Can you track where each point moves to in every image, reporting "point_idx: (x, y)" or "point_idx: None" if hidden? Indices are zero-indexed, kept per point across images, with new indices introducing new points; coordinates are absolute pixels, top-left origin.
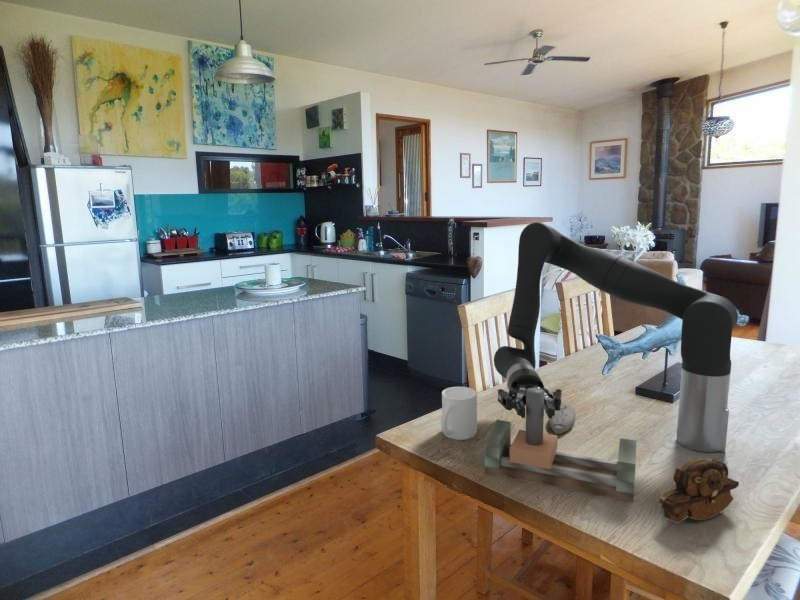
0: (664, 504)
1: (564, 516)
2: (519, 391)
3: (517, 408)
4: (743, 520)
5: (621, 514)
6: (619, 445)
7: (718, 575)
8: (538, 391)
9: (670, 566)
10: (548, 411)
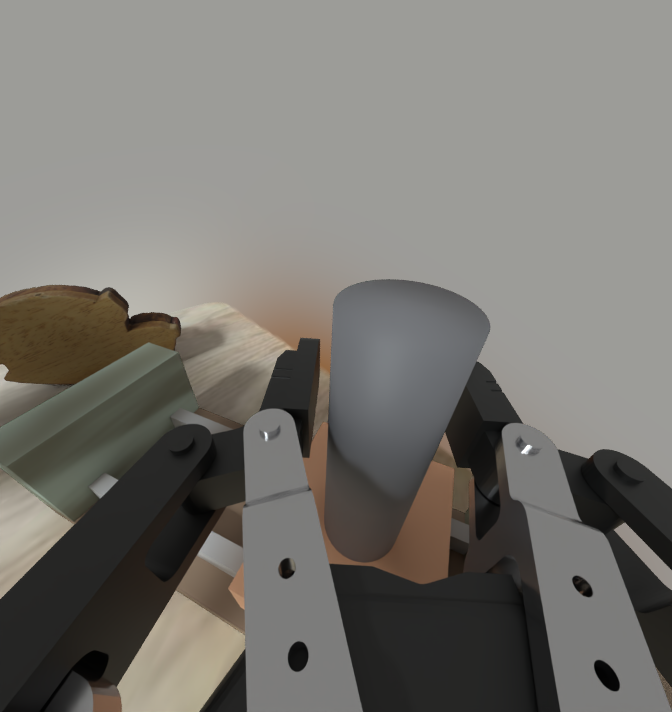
0: (179, 326)
1: (325, 381)
2: (619, 616)
3: (488, 372)
4: None
5: (229, 382)
6: (83, 414)
7: (203, 310)
8: (382, 300)
9: (240, 318)
10: (318, 361)
